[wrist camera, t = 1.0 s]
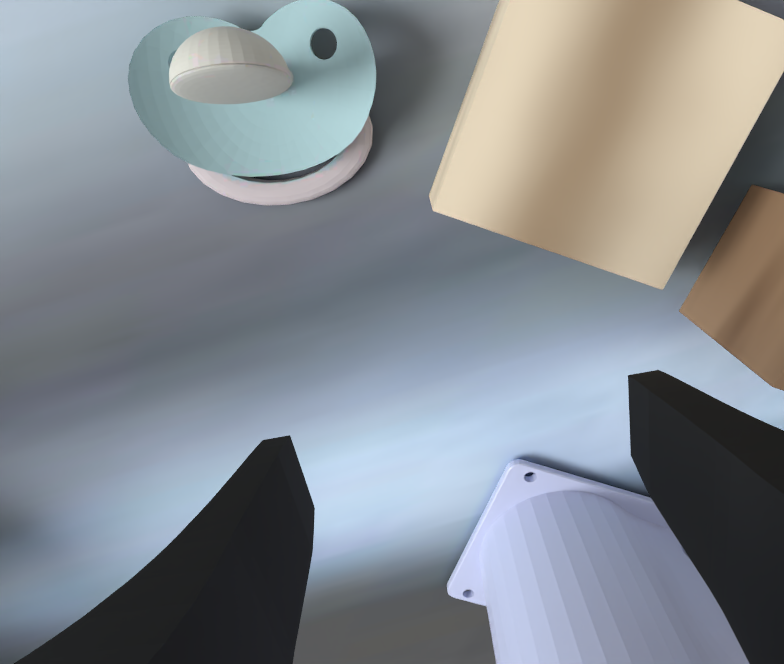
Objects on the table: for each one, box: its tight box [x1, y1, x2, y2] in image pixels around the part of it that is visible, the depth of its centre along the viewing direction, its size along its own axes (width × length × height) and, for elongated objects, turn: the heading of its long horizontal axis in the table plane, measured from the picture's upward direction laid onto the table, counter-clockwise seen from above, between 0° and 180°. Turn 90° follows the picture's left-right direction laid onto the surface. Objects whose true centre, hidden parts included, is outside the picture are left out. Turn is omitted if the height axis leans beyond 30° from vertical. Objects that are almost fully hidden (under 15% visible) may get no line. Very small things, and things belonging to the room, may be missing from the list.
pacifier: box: [128, 0, 376, 205], centre depth 17 cm, size 7×6×6 cm
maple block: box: [429, 0, 784, 290], centre depth 18 cm, size 8×8×3 cm
